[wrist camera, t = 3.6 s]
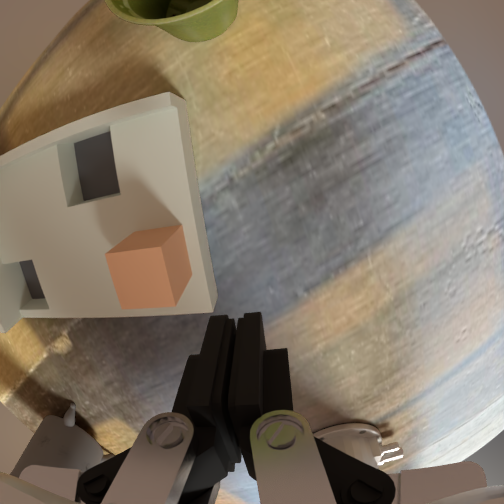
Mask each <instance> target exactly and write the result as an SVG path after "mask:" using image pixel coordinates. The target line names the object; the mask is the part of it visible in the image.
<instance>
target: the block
mask: <svg viewBox="0 0 504 504" xmlns="http://www.w3.org/2000/svg"><path fill="white" fill-rule="evenodd" d="M105 257H106V260H107V264H108V267H109V271H110V274H111V277H112V281H113V284H114V287H115V290H116V293H117V296H118V299H119V302H120V305H121V308H122V309H142V308H160V307H176V305H177V303H178V301H179V299H180V297H181V296H182V294H183V292H184V290H185V288H186V286H187V284H188V282H189V280H190V278H191V276H192V270H191V265H190V261H189V256H188V251H187V246H186V241H185V236H184V231H183V226H182V225H176V226H169V227H162V228H155V229H149V230H142V231H136V232H133V233H132V234H131V235H129V236H128V237H126V238H125V239H124V240H122V241H121V242H120V243H118V244H117V245H116V246H114V247H113V248H112V249H111V250H109V251H108V252H107V253H105Z"/></svg>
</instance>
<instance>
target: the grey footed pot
mask: <svg viewBox="0 0 504 504" xmlns="http://www.w3.org/2000/svg"><path fill="white" fill-rule="evenodd" d="M75 409H76V406H75V404H74V403H71V404H70V408H69V409H68V411H67V412H66V413H65V415H64V418H61V417H58V416H53V415H48V416H46V417H45V418H44V419H43V421H42V423H41V424H40V426H39V427H38V429H37V431H36V432H35V434H34V435H33V437H32V439H31V440H30V442H29V444H28V445H27V447H26V449H25V451H24V452H23V454H22V456H21V457H20V459H19V461H18V463H17V464H16V466H15V468H14V469H13V471H12V472H11V474H10V475H12V476H15V477H17V478H19V476H20V474H21V472H22V471H23V470H24V469H25V468H26V467H28V466H30V465H39V466H47V467H56V468H66V469H79V470H80V471H81V472H85V471H87V470H88V469H90V468H92V467H94V466H96V465H98V464H100V463H102V462H104V461H106V460H108V459H110V458H112V457H114V456H115V455H113V454H107V455H103V450H102V448H101V446H100V445H99V444H98V442H97V441H96V440H95V439H94V438H93V437H91V436H90V435H89V434H88V433H87V432H85V431H84V430H83V429H81V428H80V427H78V426H77V425H75Z"/></svg>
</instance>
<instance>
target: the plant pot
mask: <svg viewBox="0 0 504 504" xmlns="http://www.w3.org/2000/svg"><path fill="white" fill-rule="evenodd" d="M105 3H106V5H107V6H108V8H109V9H110V10H111V11H112V12H113V13H114V14H115V15H116V16H118V17H119V18H121V19H123V20H125V21H127V22H130V23H134V24H139V25H155V26H157V27H159V28H161V29H163V30H165V31H166V32H168V33H170V34H171V35H173V36H175V37H177V38H179V39H181V40H185V41H189V42H200V41H206V40H209V39H212V38H215V37H217V36H219V35H221V34H222V33H224V32H225V31H226V30H227V28H228V27H229V26H230V25H231V24H232V22H233V21H234V20H235V18H236V15H237V9H238V0H105ZM173 14H175V16H174V17H172V15H173Z"/></svg>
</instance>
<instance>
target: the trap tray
mask: <svg viewBox="0 0 504 504" xmlns="http://www.w3.org/2000/svg"><path fill="white" fill-rule="evenodd" d="M176 225H182V226H183V231H184V236H185V241H186V246H187V251H188V256H189V261H190V265H191V270H192V276H191V278H190V280H189V282H188V284H187V286H186V288H185V290H184V292H183V294H182V296H181V297H180V299H179V301H178V303H177V305H176V307H160V308H142V309H122V308H121V305H120V302H119V299H118V296H117V293H116V290H115V287H114V284H113V281H112V277H111V274H110V271H109V267H108V264H107V260H106V257H105V253H107V252H108V251H109V250H111V249H112V248H113V247H114V246H116V245H117V244H118V243H120V242H121V241H122V240H124V239H125V238H126V237H128V236H129V235H131V234H132V233H133V232H136V231H142V230H149V229H155V228H162V227H169V226H176ZM217 297H218V292H217V287H216V282H215V277H214V272H213V266H212V261H211V256H210V250H209V245H208V239H207V234H206V228H205V223H204V217H203V211H202V205H201V199H200V193H199V187H198V181H197V174H196V168H195V161H194V155H193V148H192V141H191V134H190V127H189V120H188V112H187V105H186V100H184V99H182V98H180V97H178V96H177V95H175V94H173V93H171V92H166V93H162V94H158V95H154V96H150V97H146V98H143V99H139V100H136V101H132V102H129V103H126V104H122V105H119V106H116V107H113V108H110V109H107V110H104V111H101V112H98V113H95V114H93V115H90V116H87V117H84V118H82V119H79V120H77V121H74V122H71V123H69V124H66V125H64V126H62V127H59V128H57V129H55V130H52V131H50V132H48V133H45V134H43V135H41V136H39V137H37V138H35V139H32V140H30V141H28V142H26V143H24V144H22V145H20V146H18V147H16V148H14V149H12V150H10V151H9V152H7V153H5V154H3V155H1V156H0V332H1V333H6V332H7V331H8V330H9V329H11V328H12V327H13V326H14V325H15V324H16V323H17V322H18V321H19V320H20V319H22V318H23V317H26V318H107V317H139V316H162V315H180V314H196V313H210V312H213V311H214V308H215V304H216V301H217Z"/></svg>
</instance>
